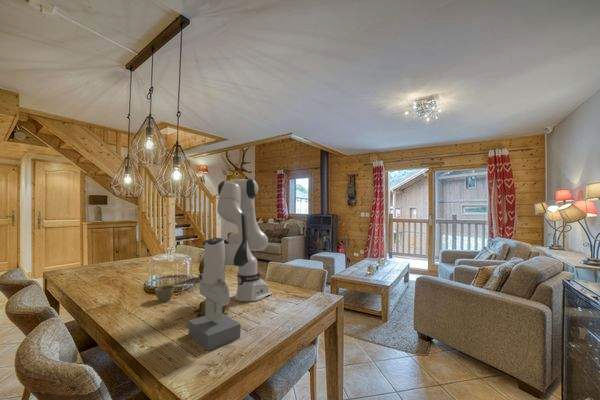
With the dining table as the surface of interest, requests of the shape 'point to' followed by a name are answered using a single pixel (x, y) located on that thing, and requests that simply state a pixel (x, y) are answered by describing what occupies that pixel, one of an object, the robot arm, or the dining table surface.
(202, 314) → the wooden carving
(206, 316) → the sage block
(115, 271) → the dining table surface
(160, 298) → the flower pot
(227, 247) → the robot arm
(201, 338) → the slate block
